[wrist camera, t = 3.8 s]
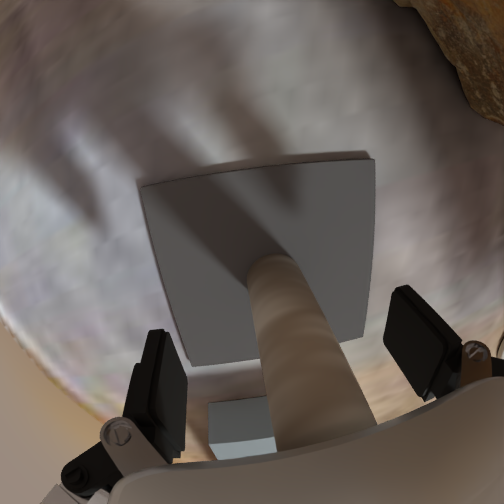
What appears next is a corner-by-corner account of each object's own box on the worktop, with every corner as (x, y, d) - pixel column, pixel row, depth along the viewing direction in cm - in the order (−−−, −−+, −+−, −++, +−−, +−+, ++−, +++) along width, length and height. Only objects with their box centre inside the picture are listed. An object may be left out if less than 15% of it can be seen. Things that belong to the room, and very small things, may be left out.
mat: (371, 158, 14) (375, 159, 13) (360, 333, 19) (362, 336, 18) (142, 186, 13) (140, 188, 13) (192, 362, 18) (192, 366, 18)
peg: (299, 249, 15) (387, 405, 6) (301, 296, 16) (366, 450, 7) (243, 257, 15) (275, 435, 6) (250, 305, 16) (279, 471, 7)
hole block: (208, 403, 20) (208, 444, 17) (306, 388, 21) (319, 427, 17) (246, 485, 30) (249, 507, 27) (301, 476, 31) (306, 498, 27)
